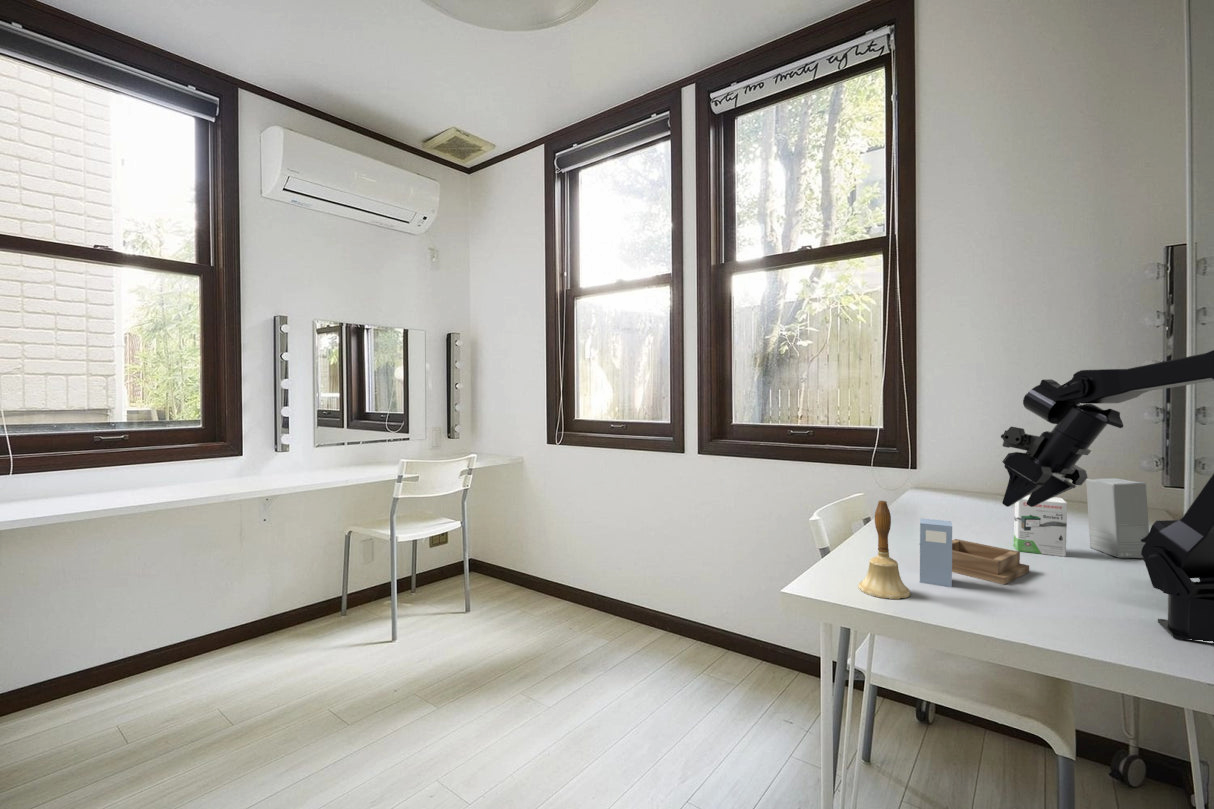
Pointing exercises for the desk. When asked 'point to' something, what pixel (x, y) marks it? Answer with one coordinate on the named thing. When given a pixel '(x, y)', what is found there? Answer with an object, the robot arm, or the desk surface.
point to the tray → (986, 562)
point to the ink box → (1041, 527)
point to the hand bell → (883, 563)
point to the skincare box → (1117, 516)
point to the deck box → (936, 552)
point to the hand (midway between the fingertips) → (1017, 505)
